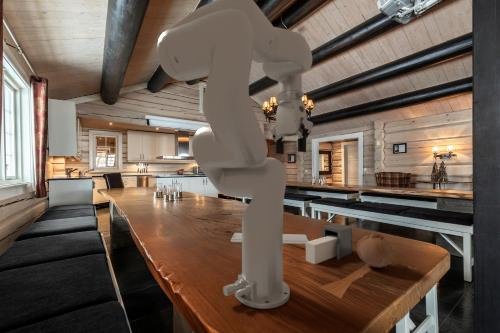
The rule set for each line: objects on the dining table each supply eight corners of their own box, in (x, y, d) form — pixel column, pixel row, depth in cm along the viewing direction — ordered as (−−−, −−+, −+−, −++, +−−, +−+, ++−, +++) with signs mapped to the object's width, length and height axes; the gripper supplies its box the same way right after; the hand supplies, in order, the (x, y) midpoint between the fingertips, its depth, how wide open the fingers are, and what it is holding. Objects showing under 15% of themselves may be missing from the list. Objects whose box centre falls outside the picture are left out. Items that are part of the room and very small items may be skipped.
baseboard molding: (310, 247, 87) (305, 238, 99) (310, 239, 87) (305, 231, 99) (229, 244, 89) (234, 236, 101) (229, 237, 90) (234, 229, 101)
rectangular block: (314, 264, 70) (314, 245, 70) (305, 261, 72) (305, 242, 73) (341, 254, 78) (341, 237, 78) (332, 251, 81) (332, 234, 81)
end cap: (338, 260, 72) (338, 232, 73) (316, 252, 80) (316, 227, 80) (354, 253, 78) (354, 228, 78) (332, 246, 85) (331, 223, 85)
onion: (381, 261, 72) (381, 229, 72) (400, 274, 62) (400, 238, 63) (351, 260, 72) (351, 229, 72) (365, 274, 63) (365, 237, 63)
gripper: (319, 95, 69) (320, 151, 69) (279, 108, 83) (279, 154, 83) (303, 90, 65) (303, 150, 64) (264, 104, 79) (264, 154, 78)
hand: (290, 152), depth 73 cm, fingers open, 9 cm apart
